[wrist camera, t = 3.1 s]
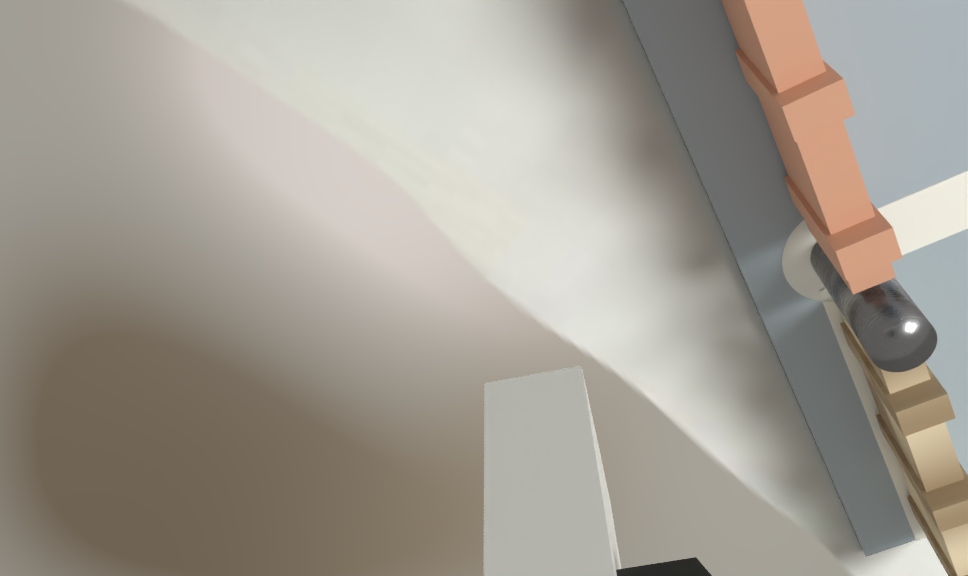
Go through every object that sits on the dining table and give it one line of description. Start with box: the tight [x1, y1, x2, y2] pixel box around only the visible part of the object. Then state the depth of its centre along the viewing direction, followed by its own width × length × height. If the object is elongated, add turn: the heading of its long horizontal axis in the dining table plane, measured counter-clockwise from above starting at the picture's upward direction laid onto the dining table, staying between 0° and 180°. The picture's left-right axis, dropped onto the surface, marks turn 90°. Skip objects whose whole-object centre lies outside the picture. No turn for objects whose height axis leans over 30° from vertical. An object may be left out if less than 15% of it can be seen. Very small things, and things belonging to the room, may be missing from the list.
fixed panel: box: [840, 311, 968, 576], centre depth 30 cm, size 12×2×5 cm, turn 28°
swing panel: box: [721, 0, 903, 294], centre depth 24 cm, size 12×2×5 cm, turn 28°
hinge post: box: [810, 242, 937, 372], centre depth 27 cm, size 2×2×6 cm
